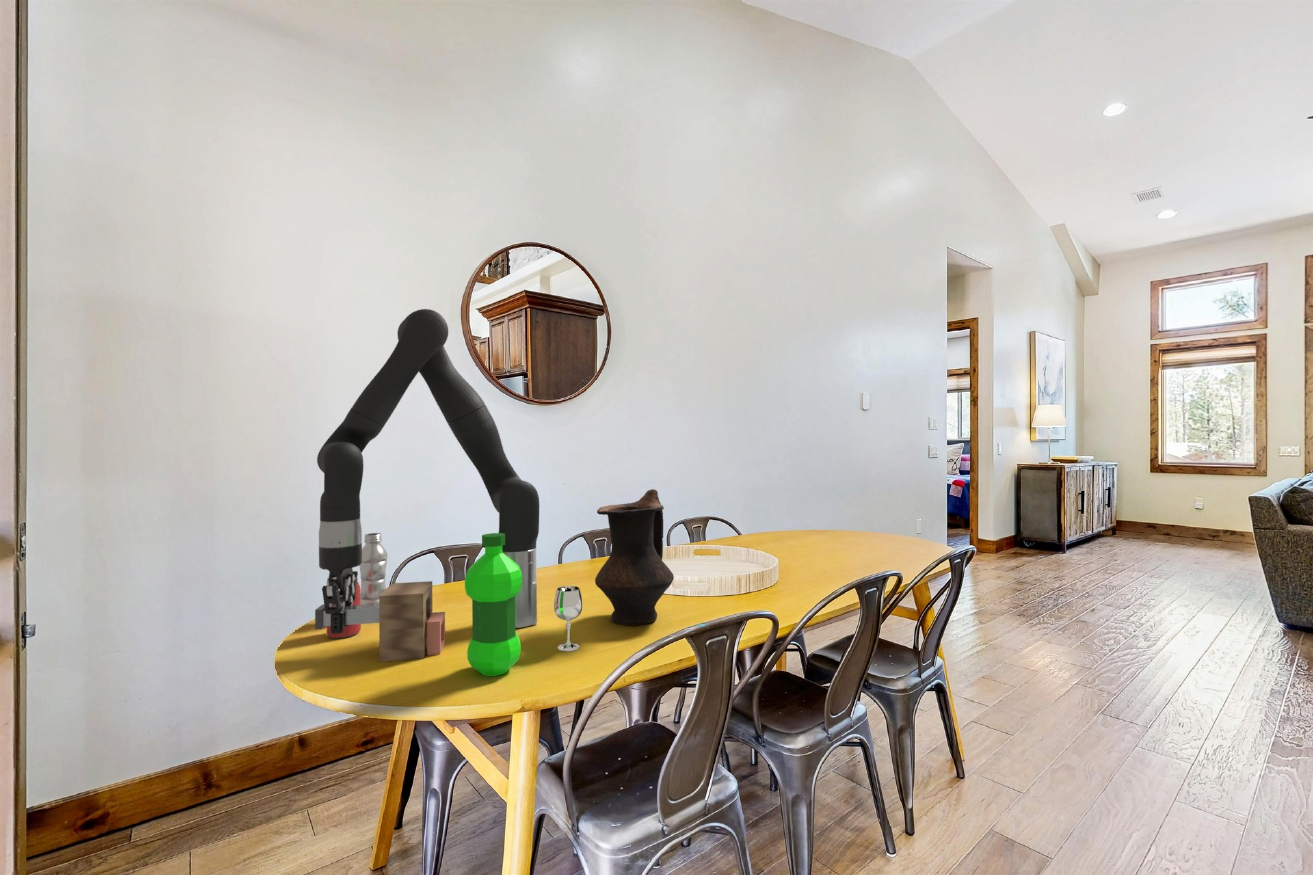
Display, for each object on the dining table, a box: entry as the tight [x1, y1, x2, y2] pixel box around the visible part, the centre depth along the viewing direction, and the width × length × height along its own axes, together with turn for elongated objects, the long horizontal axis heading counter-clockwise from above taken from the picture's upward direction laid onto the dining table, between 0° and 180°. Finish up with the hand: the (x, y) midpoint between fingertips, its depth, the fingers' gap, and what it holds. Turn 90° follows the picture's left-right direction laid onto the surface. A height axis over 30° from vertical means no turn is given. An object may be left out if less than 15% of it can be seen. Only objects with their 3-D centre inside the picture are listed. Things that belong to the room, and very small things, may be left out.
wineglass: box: [553, 585, 583, 652], centre depth 120 cm, size 6×6×12 cm
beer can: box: [326, 578, 362, 639], centre depth 129 cm, size 7×7×12 cm
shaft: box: [314, 603, 379, 630], centre depth 117 cm, size 18×4×4 cm, turn 101°
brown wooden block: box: [378, 580, 433, 663], centre depth 118 cm, size 8×10×13 cm
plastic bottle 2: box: [464, 532, 522, 677], centre depth 108 cm, size 10×10×25 cm
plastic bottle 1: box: [358, 532, 389, 605], centre depth 141 cm, size 6×7×20 cm
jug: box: [594, 488, 675, 626], centre depth 139 cm, size 21×18×30 cm
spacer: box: [426, 611, 446, 656], centre depth 119 cm, size 2×7×7 cm, turn 12°
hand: (341, 628), depth 116 cm, fingers open, 4 cm apart
